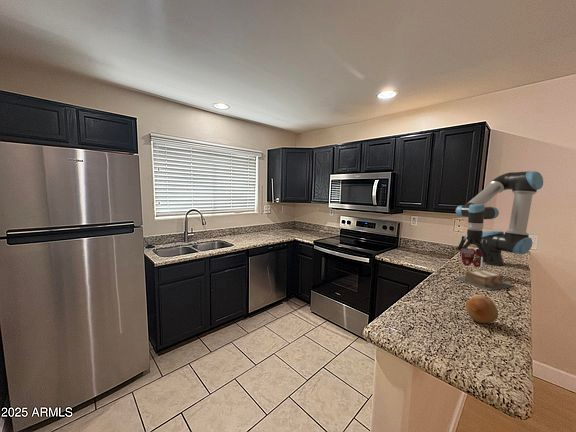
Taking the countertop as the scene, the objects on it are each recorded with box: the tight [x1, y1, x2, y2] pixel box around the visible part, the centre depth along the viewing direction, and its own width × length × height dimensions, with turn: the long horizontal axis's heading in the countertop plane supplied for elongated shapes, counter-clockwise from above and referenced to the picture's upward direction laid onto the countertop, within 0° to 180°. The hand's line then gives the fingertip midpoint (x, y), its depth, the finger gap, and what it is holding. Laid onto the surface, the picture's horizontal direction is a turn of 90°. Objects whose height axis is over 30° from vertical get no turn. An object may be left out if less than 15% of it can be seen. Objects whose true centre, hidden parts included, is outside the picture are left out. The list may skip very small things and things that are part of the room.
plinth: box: [465, 269, 504, 287], centre depth 134 cm, size 14×10×5 cm
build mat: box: [454, 275, 515, 291], centre depth 136 cm, size 20×18×1 cm
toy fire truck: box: [460, 248, 487, 268], centre depth 150 cm, size 7×12×10 cm, turn 49°
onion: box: [464, 295, 499, 324], centre depth 93 cm, size 10×10×10 cm
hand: (472, 264), depth 150 cm, fingers closed on toy fire truck, 11 cm apart
